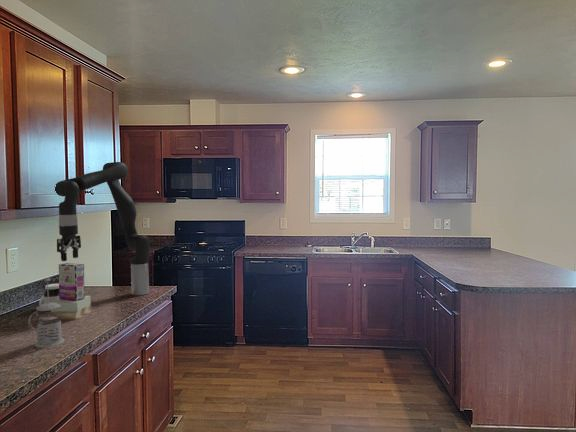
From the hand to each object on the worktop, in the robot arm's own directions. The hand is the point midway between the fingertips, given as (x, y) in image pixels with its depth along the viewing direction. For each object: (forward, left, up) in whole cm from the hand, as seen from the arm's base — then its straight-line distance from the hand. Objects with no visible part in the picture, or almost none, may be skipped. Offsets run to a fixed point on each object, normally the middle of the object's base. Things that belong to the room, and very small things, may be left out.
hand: (69, 259), depth 185 cm
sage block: (0, 0, -23) cm, 23 cm away
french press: (+34, +12, -27) cm, 45 cm away
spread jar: (-11, -18, -27) cm, 34 cm away
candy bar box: (0, 0, -19) cm, 19 cm away
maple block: (0, 0, -27) cm, 27 cm away
